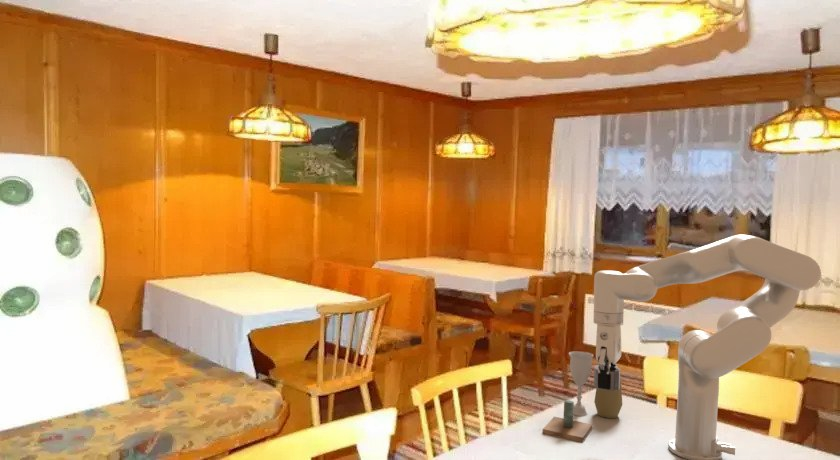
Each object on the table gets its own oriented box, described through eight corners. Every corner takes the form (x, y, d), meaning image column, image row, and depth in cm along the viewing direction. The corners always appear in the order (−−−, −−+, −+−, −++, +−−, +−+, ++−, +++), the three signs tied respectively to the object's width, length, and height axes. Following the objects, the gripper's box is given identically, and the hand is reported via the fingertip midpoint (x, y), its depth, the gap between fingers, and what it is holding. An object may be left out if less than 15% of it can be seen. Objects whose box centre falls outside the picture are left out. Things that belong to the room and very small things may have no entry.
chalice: (588, 409, 186) (591, 351, 185) (593, 417, 179) (595, 357, 178) (564, 408, 186) (567, 350, 185) (567, 416, 180) (570, 356, 179)
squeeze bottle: (620, 411, 184) (623, 353, 183) (623, 421, 177) (626, 360, 176) (593, 409, 186) (595, 351, 185) (594, 418, 178) (597, 358, 177)
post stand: (592, 428, 170) (593, 400, 170) (582, 442, 161) (584, 411, 160) (554, 420, 176) (555, 392, 175) (542, 433, 166) (543, 403, 166)
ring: (621, 385, 161) (621, 366, 161) (616, 392, 155) (617, 372, 155) (597, 381, 164) (597, 363, 164) (591, 388, 158) (592, 369, 158)
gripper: (616, 325, 149) (615, 396, 150) (629, 313, 165) (627, 378, 165) (586, 322, 153) (584, 391, 154) (601, 311, 168) (599, 374, 169)
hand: (607, 384), depth 160 cm, fingers closed on ring, 6 cm apart
